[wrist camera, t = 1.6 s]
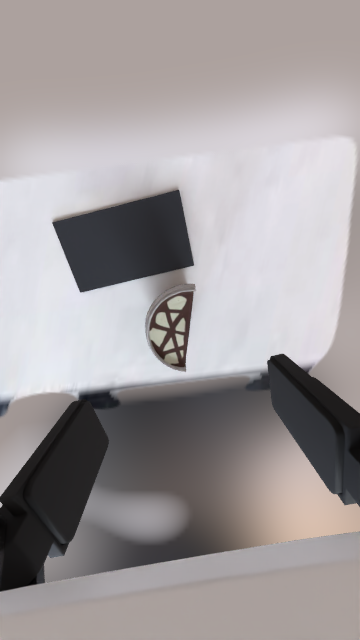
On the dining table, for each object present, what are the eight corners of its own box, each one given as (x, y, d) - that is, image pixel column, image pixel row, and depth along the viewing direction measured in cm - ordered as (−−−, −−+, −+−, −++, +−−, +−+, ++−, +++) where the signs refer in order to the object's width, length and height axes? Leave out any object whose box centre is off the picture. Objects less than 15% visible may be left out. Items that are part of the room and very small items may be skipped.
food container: (153, 275, 30) (144, 280, 20) (189, 279, 30) (196, 285, 21) (150, 341, 34) (141, 372, 24) (182, 344, 34) (185, 375, 24)
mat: (81, 292, 30) (80, 292, 30) (53, 223, 27) (52, 222, 27) (193, 265, 30) (193, 265, 29) (179, 190, 26) (179, 189, 26)
